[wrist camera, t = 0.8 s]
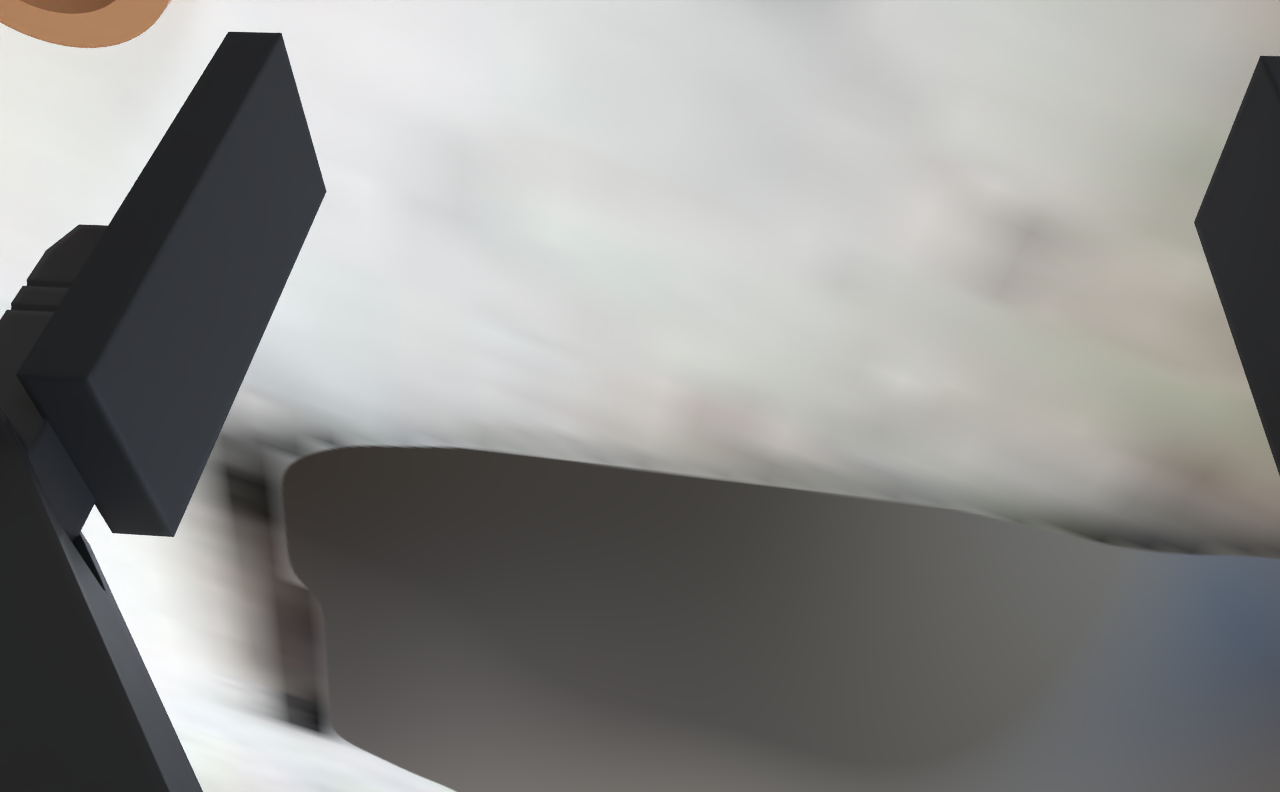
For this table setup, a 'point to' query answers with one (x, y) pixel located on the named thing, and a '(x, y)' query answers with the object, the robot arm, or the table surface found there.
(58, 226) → the table surface
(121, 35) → the bracket
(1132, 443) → the table surface
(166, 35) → the table surface
